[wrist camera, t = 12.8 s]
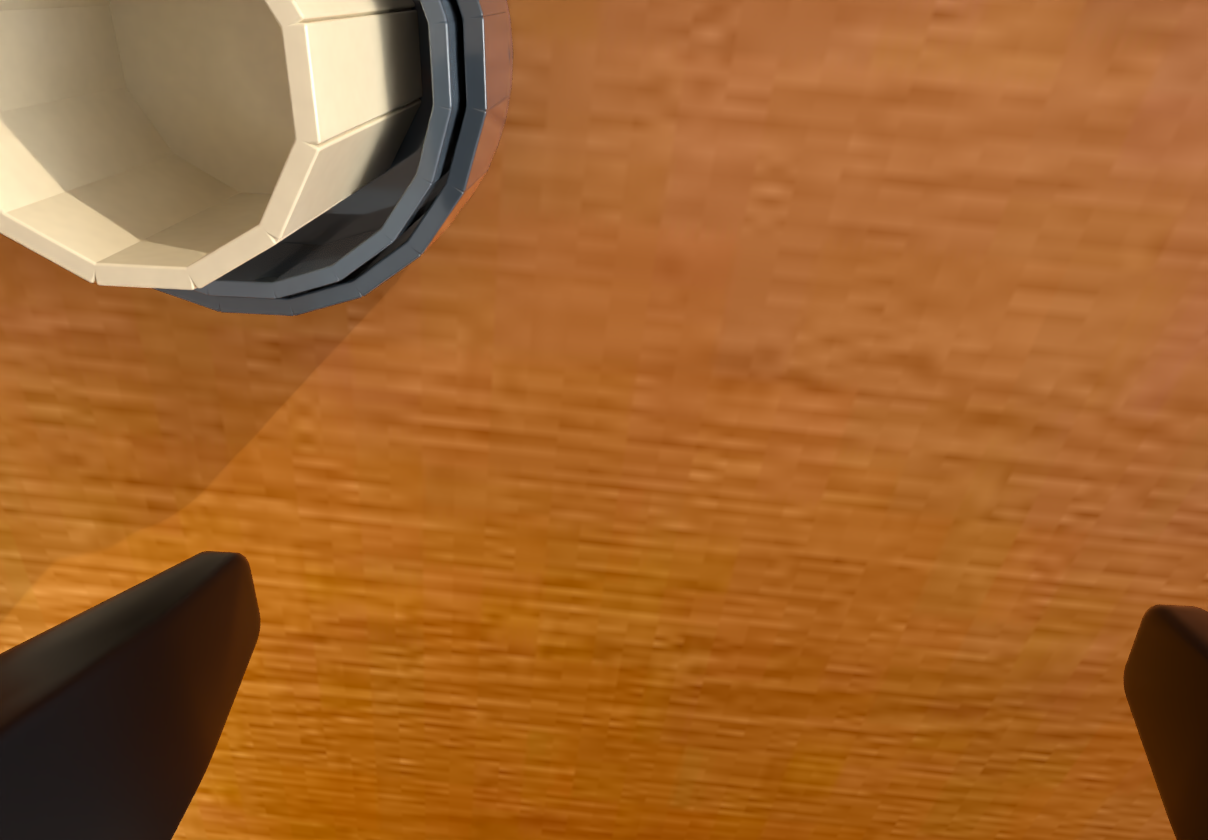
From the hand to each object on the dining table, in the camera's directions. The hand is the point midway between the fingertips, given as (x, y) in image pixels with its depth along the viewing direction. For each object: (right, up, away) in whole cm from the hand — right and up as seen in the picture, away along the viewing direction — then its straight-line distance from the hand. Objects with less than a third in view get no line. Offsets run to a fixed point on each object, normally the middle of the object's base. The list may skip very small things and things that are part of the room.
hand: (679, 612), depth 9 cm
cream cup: (-8, +10, +10) cm, 16 cm away
